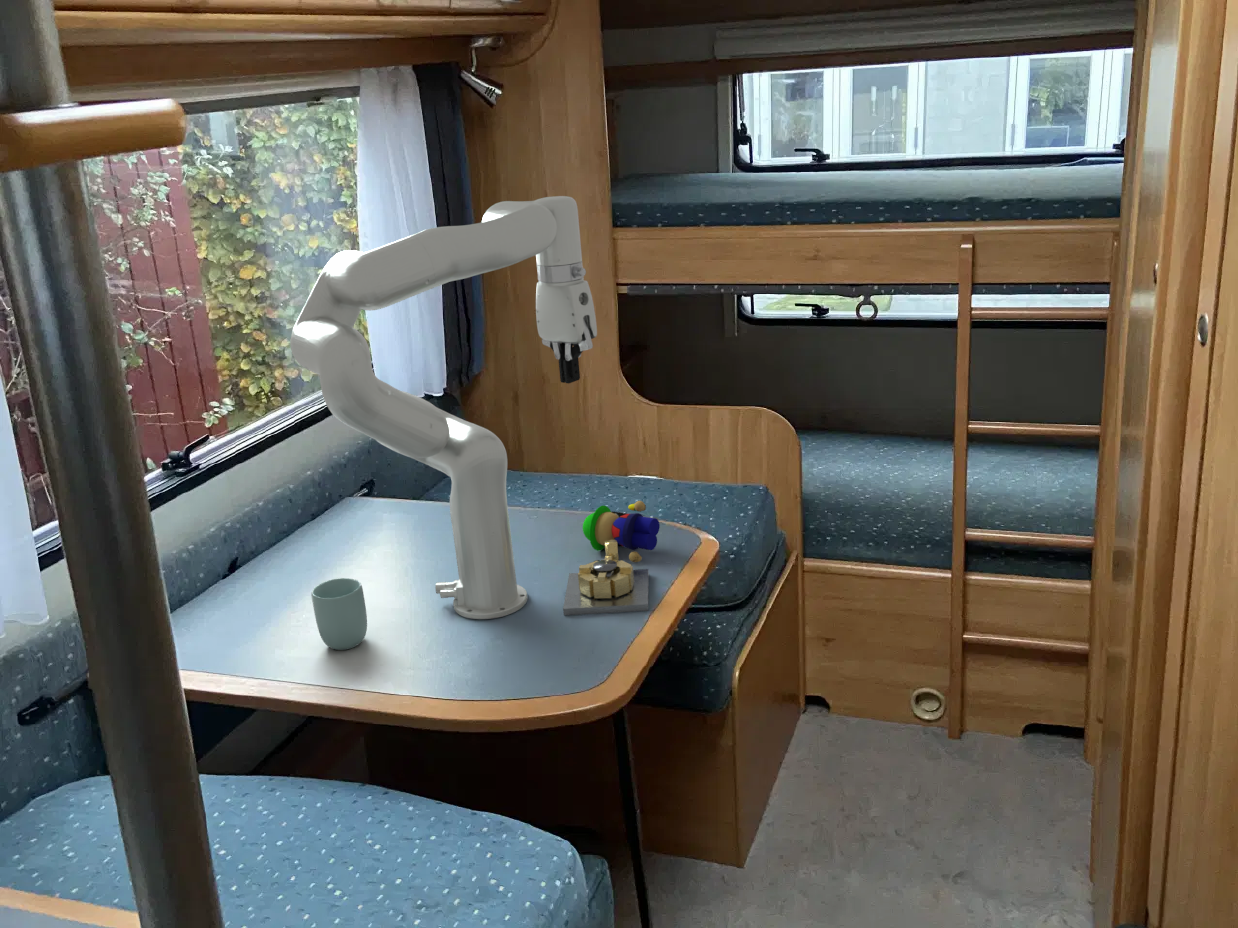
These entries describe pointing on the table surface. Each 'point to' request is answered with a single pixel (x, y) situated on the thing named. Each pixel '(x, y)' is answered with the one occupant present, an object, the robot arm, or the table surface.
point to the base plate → (624, 603)
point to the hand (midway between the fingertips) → (570, 381)
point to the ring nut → (601, 583)
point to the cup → (340, 612)
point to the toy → (622, 529)
